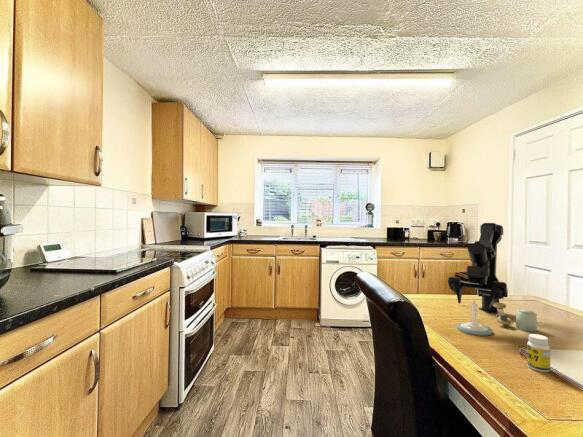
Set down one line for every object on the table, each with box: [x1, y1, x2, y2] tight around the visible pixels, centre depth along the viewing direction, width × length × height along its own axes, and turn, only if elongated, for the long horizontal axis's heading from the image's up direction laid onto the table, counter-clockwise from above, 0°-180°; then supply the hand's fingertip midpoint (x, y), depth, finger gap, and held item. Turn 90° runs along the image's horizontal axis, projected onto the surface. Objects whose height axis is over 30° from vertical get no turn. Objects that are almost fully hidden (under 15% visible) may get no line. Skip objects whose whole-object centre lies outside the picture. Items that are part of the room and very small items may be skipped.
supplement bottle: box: [526, 333, 551, 373], centre depth 81 cm, size 5×5×8 cm
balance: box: [493, 301, 512, 325], centre depth 120 cm, size 17×5×6 cm, turn 152°
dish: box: [456, 322, 493, 337], centre depth 110 cm, size 11×11×1 cm
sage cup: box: [515, 308, 538, 333], centre depth 112 cm, size 6×6×7 cm
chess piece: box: [466, 298, 483, 329], centre depth 111 cm, size 5×5×10 cm
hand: (473, 305), depth 110 cm, fingers open, 9 cm apart
